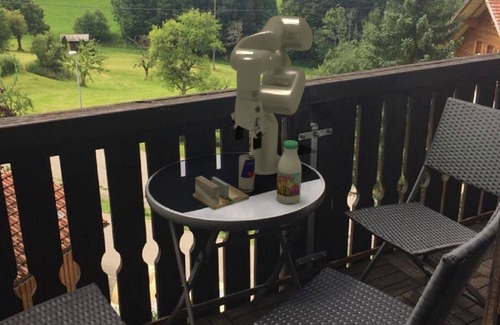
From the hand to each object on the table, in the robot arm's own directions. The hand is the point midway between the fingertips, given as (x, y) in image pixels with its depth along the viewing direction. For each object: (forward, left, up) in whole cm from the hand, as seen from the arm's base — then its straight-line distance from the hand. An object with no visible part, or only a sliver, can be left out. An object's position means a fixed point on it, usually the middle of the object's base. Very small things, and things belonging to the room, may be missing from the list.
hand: (248, 144), depth 180 cm
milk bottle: (-6, +14, -17) cm, 23 cm away
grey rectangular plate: (+11, +2, -15) cm, 19 cm away
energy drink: (0, 0, -17) cm, 16 cm away
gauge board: (+12, 0, -16) cm, 20 cm away
